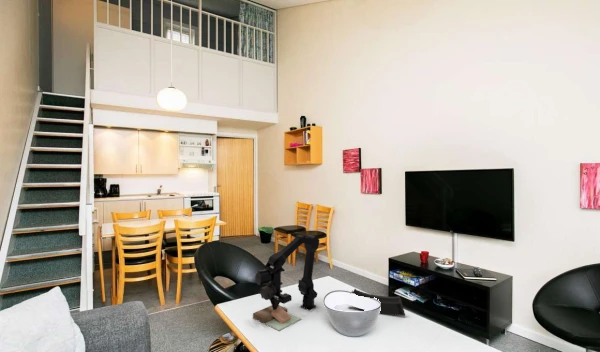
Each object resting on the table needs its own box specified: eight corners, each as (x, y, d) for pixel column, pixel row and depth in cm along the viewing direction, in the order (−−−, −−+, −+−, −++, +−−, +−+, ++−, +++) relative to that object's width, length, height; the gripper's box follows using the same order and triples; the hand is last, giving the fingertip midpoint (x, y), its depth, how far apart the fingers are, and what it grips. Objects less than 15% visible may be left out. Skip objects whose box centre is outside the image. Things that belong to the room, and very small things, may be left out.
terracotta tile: (279, 310, 159) (280, 307, 158) (290, 319, 154) (291, 316, 153) (271, 314, 154) (271, 310, 154) (281, 323, 149) (282, 320, 149)
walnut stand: (275, 308, 168) (275, 303, 168) (287, 313, 162) (287, 308, 162) (252, 318, 156) (253, 313, 156) (264, 324, 150) (264, 319, 150)
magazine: (410, 299, 161) (355, 276, 170) (410, 301, 158) (355, 278, 167) (399, 328, 163) (346, 304, 172) (399, 331, 160) (345, 306, 169)
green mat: (287, 313, 161) (287, 312, 161) (301, 319, 155) (301, 318, 155) (265, 324, 149) (265, 323, 149) (279, 331, 143) (279, 330, 143)
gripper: (251, 280, 157) (250, 310, 157) (276, 289, 144) (275, 322, 144) (267, 274, 165) (267, 303, 165) (292, 283, 153) (291, 314, 153)
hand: (274, 310), depth 157 cm, fingers closed
